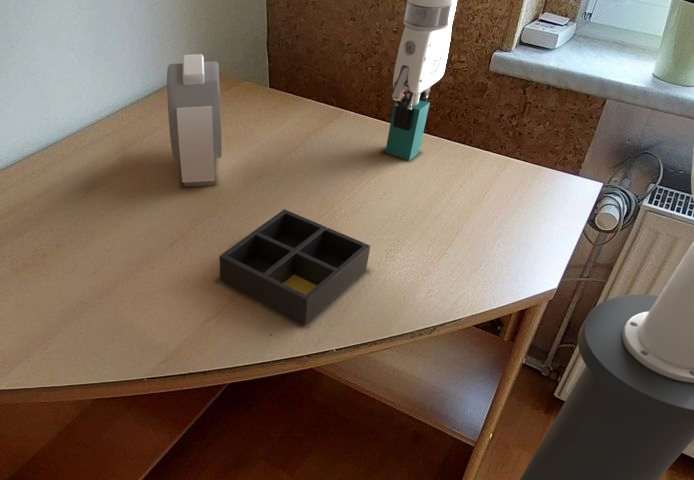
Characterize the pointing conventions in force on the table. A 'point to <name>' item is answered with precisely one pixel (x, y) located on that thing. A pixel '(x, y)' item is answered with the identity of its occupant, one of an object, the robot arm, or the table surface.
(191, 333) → the table surface
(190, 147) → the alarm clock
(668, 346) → the robot arm
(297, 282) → the tray
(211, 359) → the table surface
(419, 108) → the detergent bottle
